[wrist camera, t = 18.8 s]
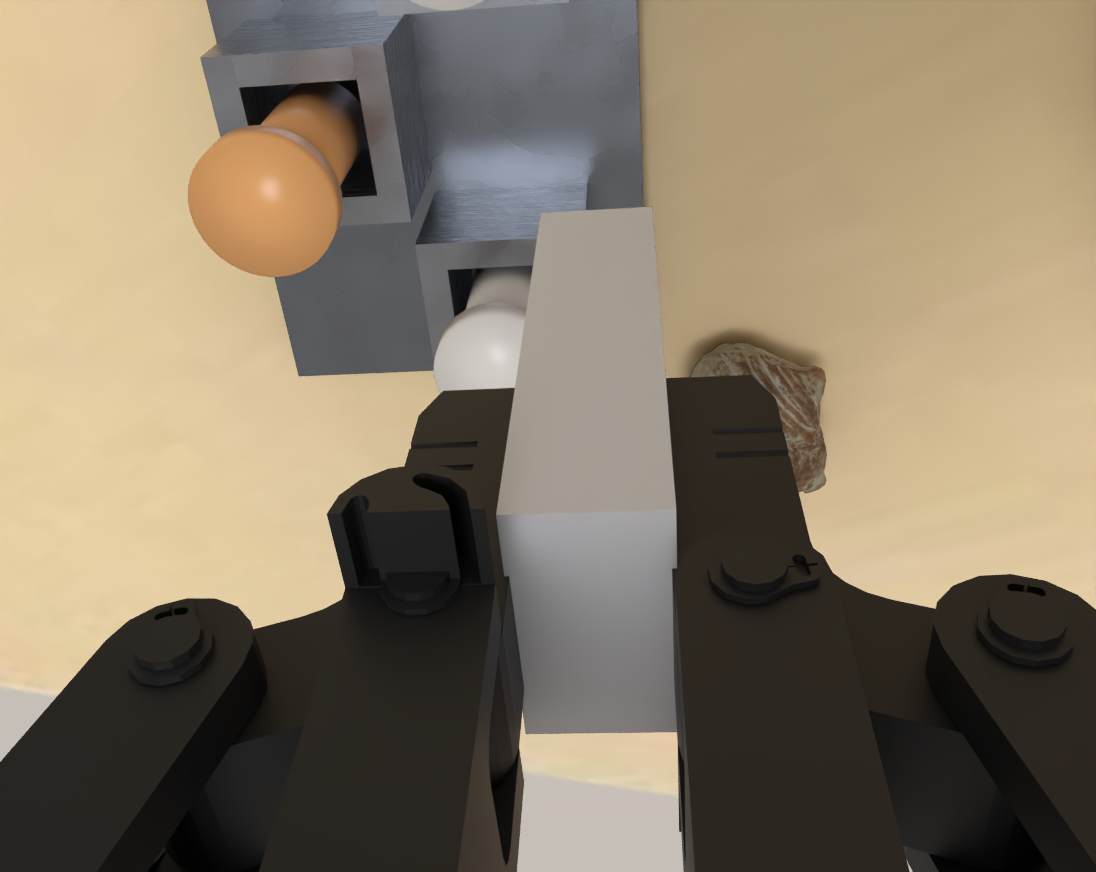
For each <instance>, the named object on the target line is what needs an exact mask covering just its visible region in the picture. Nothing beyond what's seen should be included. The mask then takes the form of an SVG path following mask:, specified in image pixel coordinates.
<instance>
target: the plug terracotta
mask: <svg viewBox="0 0 1096 872" xmlns="http://www.w3.org/2000/svg"><path fill="white" fill-rule="evenodd" d="M366 137H367V134H366V128H365V123H364V117H363V112H362V107H361V105H360V103H359V102H358V100H357V99H356V98H355V97H354V95H353V94H351V93H350V92H349V91H348V90H347V89H345V88H344V87H342V86H341V85H339V84H337V83H334V82H331V81H328V82H313V83H300V84H298V85H297V86H295V87H294V88H293V89H292V90H290V91H289V93H288V94H287V95H286V96H285V97H284V98H283V99H282V101H281V102H280V103H279V104H278V105H277V106H276V107H275V109H274V110H273V111H272V112H271V113H270V114H269V115H268V117H267V118H266V119H265V120H264V121H263V122H262V123H261V124H260V125H252V126H245V127H241V128H238V129H235V130H233V131H231V132H228V133H227V134H225V135H224V136H222V137H221V138H220V139H219V140H217V141H216V142H215V143H214V144H213V145H212V146H211V147H210V148H209V149H208V151H207V152H206V153H205V154H204V155H203V156H202V157H201V158H200V160H199V161H198V162H197V164H196V166H195V168H194V169H193V172H192V174H191V177H190V181H189V186H188V202H189V208H190V213H191V216H192V219H193V222H194V224H195V226H196V228H197V230H198V232H199V233H200V235H201V237H202V238H203V240H204V241H205V242H206V243H207V245H208V246H209V247H210V248H211V249H212V250H213V251H214V252H215V253H216V254H217V255H218V256H220V257H221V258H222V259H223V260H225V261H226V262H228V263H230V264H231V265H233V266H235V267H237V268H239V269H241V270H243V271H246V272H249V273H252V274H256V275H260V276H268V277H281V276H288V275H292V274H296V273H299V272H301V271H304V270H305V269H307V268H309V267H311V266H312V265H313V264H314V263H316V262H317V261H318V260H319V259H320V258H321V257H322V256H323V255H324V253H325V252H326V250H327V249H328V247H329V245H330V243H331V242H332V240H333V238H334V236H335V234H336V232H337V230H338V228H339V225H340V222H341V219H342V212H343V199H342V192H341V188H340V185H341V184H342V182H343V180H344V178H345V177H346V175H347V173H348V172H349V170H350V168H351V167H352V165H353V163H354V162H355V160H356V158H357V156H358V155H359V153H360V151H361V150H362V148H363V146H364V144H365V141H366Z"/></svg>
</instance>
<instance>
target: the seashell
mask: <svg viewBox="0 0 1096 872" xmlns="http://www.w3.org/2000/svg"><path fill="white" fill-rule="evenodd" d="M735 375H752V376H753V377H754V378H755V379H756V380H757V381H758V382H759V383H760V384H761V385H762V386H763V387H765V388H766V389H767V390H768V391H769V392H770V393H771V394H772V395H773V396H774V397H775V398H776V401H777V405H778V409H779V413H780V418H781V422H782V426H783V432H784V434H785V438H786V443H787V447H788V456H790V459H791V463H792V467H793V472H794V476H795V480H796V484H797V488H798V492H801V491H803V492H804V493H809V492H813V491H816V490H818V489H820V488H821V487H823V486H824V485H825V483H826V477H825V474H824V469H825V464H826V457H827V454H826V447H825V443H824V438H823V434H822V430H821V427H820V425H819V416H820V401H821V398H822V396H823V392H824V387H825V383H826V379H825V372H824V370H823V369H821V368H819V367H816V366H806V367H804V366H799V365H798V364H796V363H793V362H791V361H788V360H785V359H783V358H780V357H778V356H776V355H774V354H772V353H770V352H767V351H765V350H763V349H760V348H755V347H754V346H752V345H750V344H747V343H734V344H726V343H725V344H720V345H719V346H718V347H716V348H715V349H714V350H713V351H711V352H709V353H707V354H705V355H704V356H703V357H702V358H701V360H700V361H699V362H698V363H697V365H696V366H695V368H694V370H693V373H692V375H691V376H690V377H711V376H735Z"/></svg>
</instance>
